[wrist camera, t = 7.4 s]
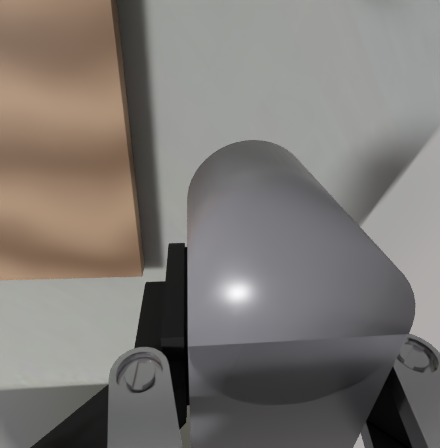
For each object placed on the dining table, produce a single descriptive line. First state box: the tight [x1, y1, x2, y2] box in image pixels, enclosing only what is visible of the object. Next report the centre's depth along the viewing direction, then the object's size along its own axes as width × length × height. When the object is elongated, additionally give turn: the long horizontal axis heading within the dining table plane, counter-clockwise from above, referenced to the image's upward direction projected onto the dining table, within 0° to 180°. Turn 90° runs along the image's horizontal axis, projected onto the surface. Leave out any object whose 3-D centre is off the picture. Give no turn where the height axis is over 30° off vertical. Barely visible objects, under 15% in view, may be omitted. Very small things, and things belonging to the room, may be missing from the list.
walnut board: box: [0, 0, 145, 280], centre depth 20 cm, size 20×12×2 cm, turn 178°
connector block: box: [187, 140, 415, 448], centre depth 10 cm, size 12×4×6 cm, turn 178°
